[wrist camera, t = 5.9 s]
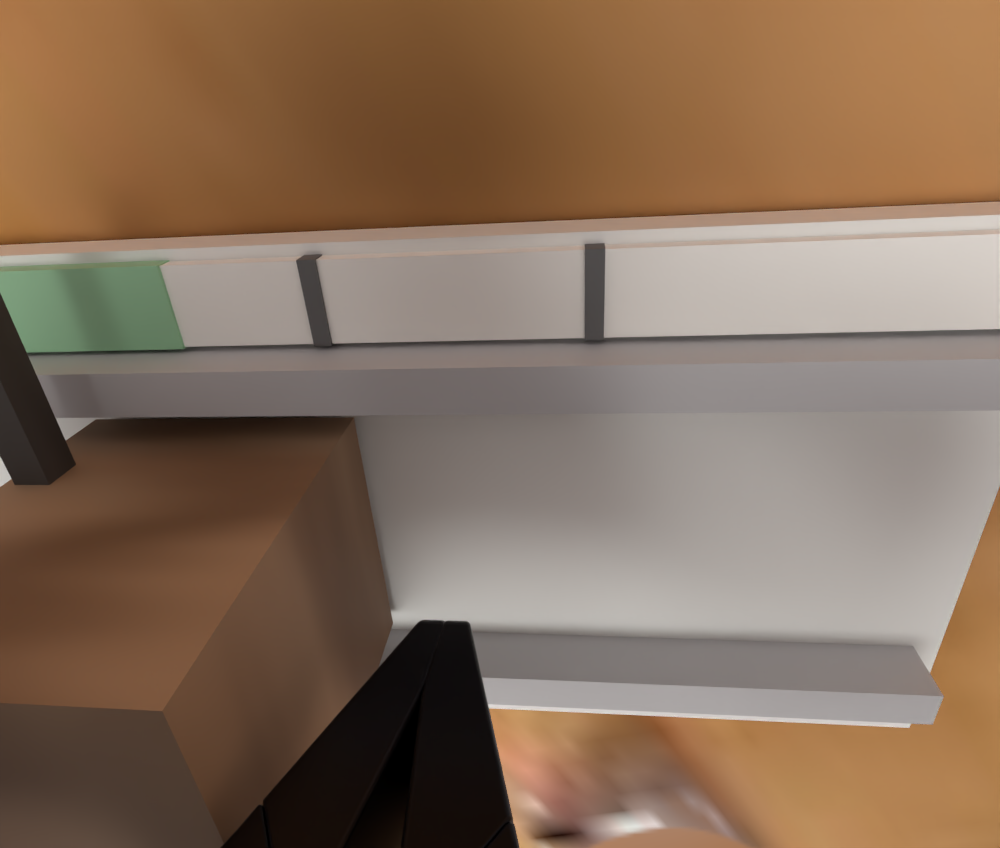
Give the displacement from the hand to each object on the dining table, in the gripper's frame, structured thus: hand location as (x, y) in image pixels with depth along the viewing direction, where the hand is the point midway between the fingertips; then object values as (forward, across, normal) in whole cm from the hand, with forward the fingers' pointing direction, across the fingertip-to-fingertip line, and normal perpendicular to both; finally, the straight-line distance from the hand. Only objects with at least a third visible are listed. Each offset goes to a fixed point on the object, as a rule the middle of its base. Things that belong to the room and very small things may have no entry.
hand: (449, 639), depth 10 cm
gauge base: (+4, +2, 0) cm, 5 cm away
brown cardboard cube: (+3, +4, -2) cm, 6 cm away
